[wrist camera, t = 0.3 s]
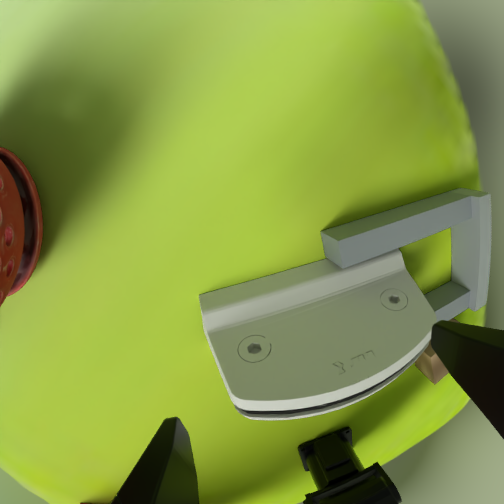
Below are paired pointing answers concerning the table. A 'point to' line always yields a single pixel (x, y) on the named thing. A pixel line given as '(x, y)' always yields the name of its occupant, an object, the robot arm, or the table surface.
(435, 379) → the spacer block
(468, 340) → the robot arm
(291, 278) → the hinge
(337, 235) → the channel jig
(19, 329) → the table surface
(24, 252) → the plant pot
